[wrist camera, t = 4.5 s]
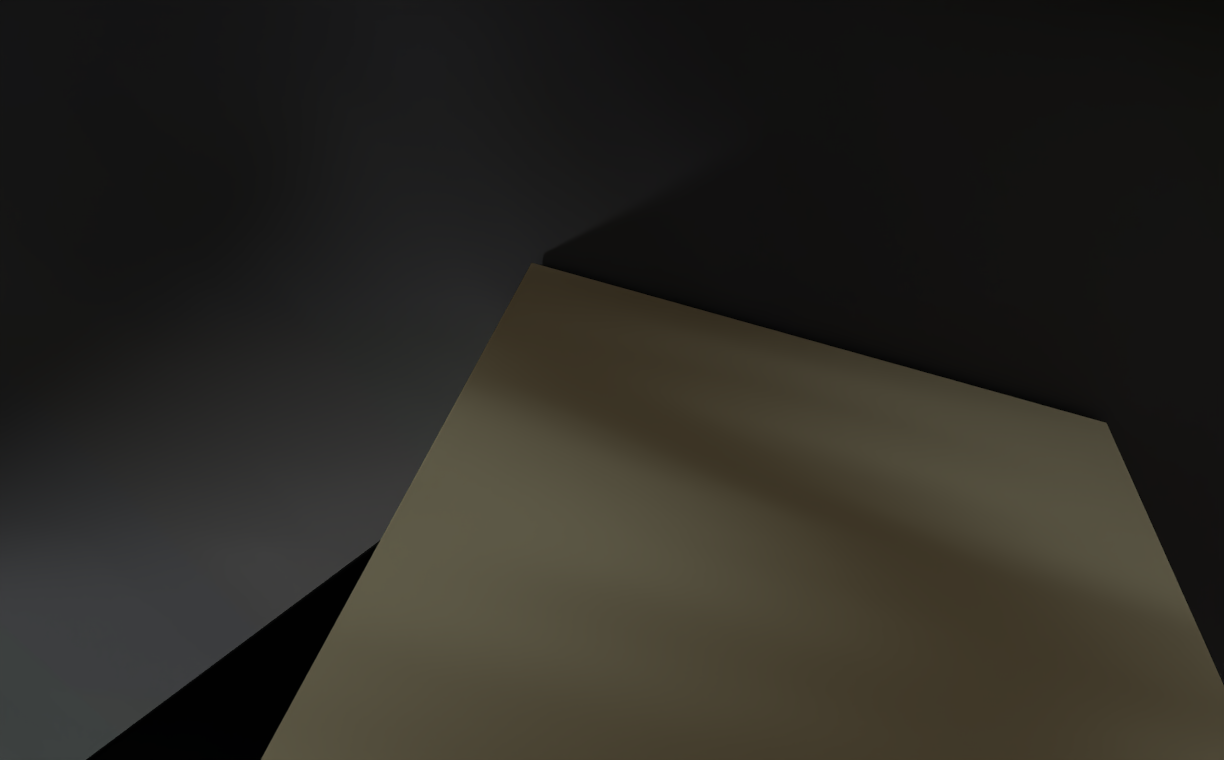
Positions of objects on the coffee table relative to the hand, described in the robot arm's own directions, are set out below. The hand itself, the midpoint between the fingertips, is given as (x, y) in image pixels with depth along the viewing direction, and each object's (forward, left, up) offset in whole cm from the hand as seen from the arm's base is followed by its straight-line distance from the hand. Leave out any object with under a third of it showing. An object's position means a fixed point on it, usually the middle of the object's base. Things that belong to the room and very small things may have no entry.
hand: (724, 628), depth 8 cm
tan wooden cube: (0, 0, -1) cm, 1 cm away
